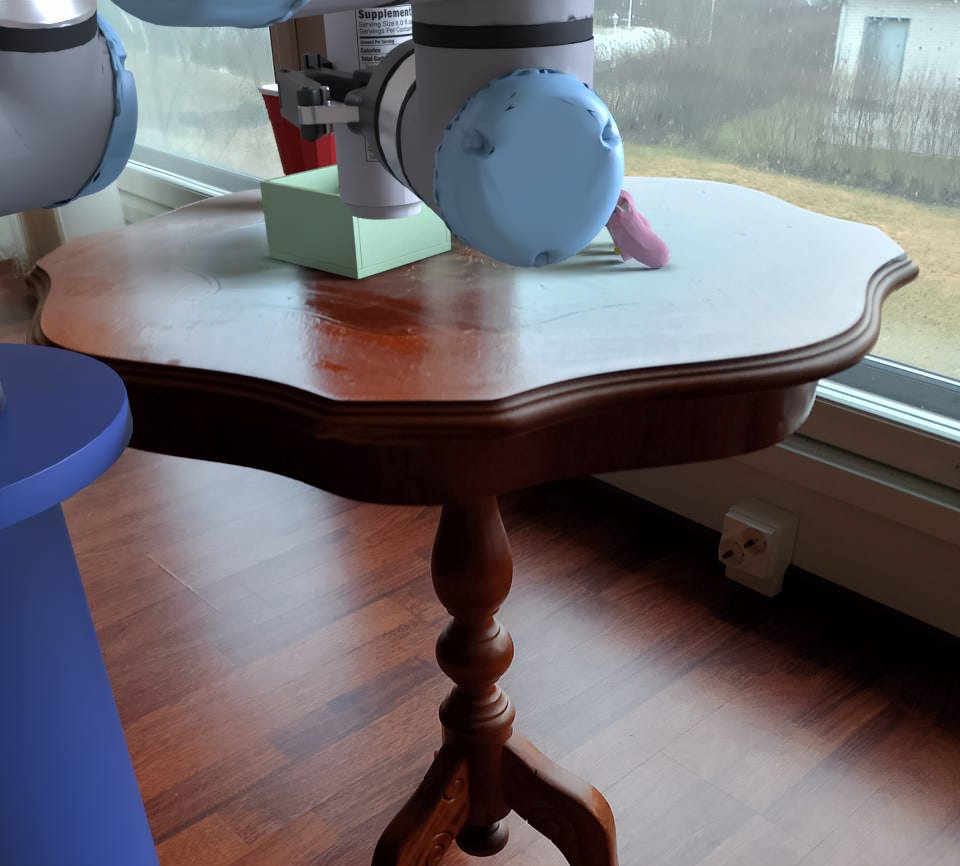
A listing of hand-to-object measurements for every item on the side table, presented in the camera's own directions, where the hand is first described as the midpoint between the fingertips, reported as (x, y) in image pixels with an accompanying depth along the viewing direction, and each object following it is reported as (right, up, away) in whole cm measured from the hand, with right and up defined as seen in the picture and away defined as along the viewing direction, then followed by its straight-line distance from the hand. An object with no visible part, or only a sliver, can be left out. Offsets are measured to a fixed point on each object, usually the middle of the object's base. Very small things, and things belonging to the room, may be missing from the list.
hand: (361, 72), depth 73 cm
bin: (-3, -2, +28) cm, 29 cm away
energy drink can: (+2, -10, +1) cm, 10 cm away
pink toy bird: (+22, -4, +25) cm, 34 cm away
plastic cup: (-10, +10, +46) cm, 48 cm away
